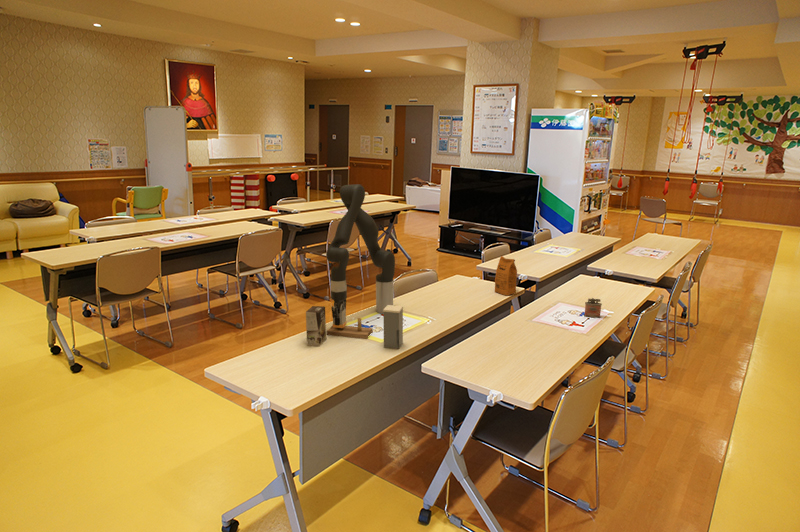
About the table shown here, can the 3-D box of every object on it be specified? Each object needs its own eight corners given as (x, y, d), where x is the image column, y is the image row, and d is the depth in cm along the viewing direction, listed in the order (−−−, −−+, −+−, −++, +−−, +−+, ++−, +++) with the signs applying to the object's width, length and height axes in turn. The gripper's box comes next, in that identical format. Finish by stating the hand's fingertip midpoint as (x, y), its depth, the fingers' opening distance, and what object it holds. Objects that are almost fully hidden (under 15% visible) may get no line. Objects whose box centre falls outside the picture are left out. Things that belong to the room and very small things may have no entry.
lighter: (584, 317, 272) (585, 298, 270) (583, 315, 275) (585, 296, 273) (600, 318, 270) (602, 300, 267) (600, 316, 273) (601, 298, 271)
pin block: (333, 328, 256) (333, 313, 254) (372, 332, 251) (372, 316, 249) (326, 335, 247) (326, 319, 245) (366, 338, 242) (366, 322, 240)
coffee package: (503, 289, 322) (505, 254, 317) (518, 294, 312) (520, 258, 307) (491, 291, 317) (493, 256, 312) (505, 296, 307) (507, 260, 301)
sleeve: (336, 323, 252) (336, 307, 251) (346, 324, 251) (346, 308, 249) (332, 327, 248) (332, 311, 246) (342, 328, 246) (342, 312, 244)
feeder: (387, 341, 239) (387, 304, 235) (402, 343, 237) (403, 306, 233) (383, 347, 232) (383, 309, 228) (399, 349, 231) (399, 311, 226)
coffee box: (320, 346, 234) (318, 312, 230) (306, 345, 235) (305, 311, 231) (326, 339, 242) (325, 306, 238) (313, 338, 243) (312, 305, 240)
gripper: (336, 284, 253) (337, 317, 257) (325, 292, 239) (326, 327, 243) (351, 285, 251) (352, 318, 255) (340, 293, 237) (341, 328, 241)
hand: (339, 322), depth 249 cm, fingers closed on sleeve, 5 cm apart
